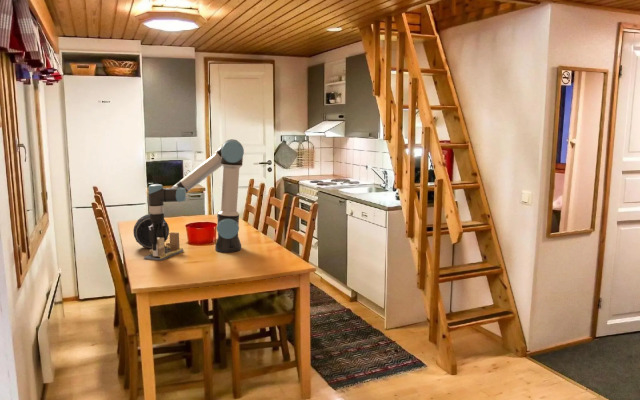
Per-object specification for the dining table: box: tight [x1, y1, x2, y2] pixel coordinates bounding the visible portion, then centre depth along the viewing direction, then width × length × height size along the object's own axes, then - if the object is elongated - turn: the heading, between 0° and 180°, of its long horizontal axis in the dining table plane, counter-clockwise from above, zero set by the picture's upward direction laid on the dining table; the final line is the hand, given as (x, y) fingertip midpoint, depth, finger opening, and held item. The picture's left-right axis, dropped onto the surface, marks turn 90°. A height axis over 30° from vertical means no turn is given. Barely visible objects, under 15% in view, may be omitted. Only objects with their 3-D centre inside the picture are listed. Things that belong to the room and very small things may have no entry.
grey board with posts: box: [143, 231, 184, 262], centre depth 284 cm, size 11×21×11 cm, turn 162°
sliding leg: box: [148, 237, 166, 257], centre depth 277 cm, size 8×4×10 cm, turn 72°
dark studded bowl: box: [133, 213, 170, 249], centre depth 300 cm, size 11×20×20 cm, turn 110°
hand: (158, 254), depth 277 cm, fingers open, 4 cm apart
